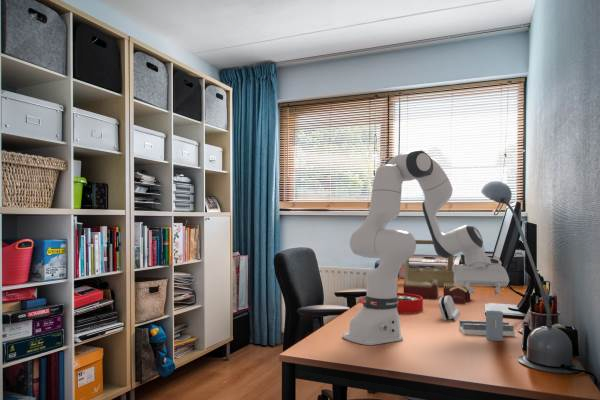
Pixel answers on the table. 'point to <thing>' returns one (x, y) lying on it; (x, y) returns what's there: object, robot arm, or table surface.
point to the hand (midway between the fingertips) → (484, 293)
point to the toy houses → (431, 291)
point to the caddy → (429, 272)
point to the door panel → (494, 325)
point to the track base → (483, 328)
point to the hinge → (448, 308)
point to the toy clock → (409, 303)
